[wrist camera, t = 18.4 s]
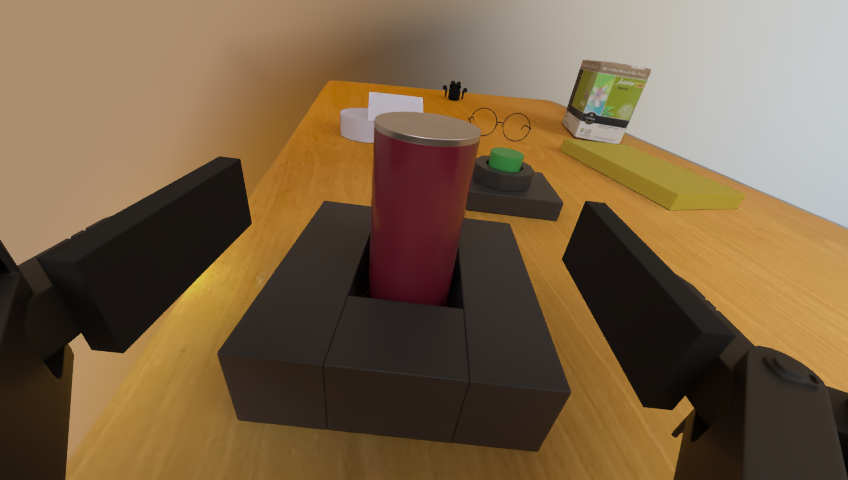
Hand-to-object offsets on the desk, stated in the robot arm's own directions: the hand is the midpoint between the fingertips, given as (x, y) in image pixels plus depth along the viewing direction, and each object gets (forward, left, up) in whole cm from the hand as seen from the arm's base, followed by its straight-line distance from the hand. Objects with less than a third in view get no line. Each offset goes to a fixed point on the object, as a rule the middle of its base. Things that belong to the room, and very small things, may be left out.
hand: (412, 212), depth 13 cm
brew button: (+9, +25, -6) cm, 27 cm away
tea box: (+37, +69, -10) cm, 79 cm away
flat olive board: (+34, +41, -10) cm, 54 cm away
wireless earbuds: (+6, +93, -10) cm, 94 cm away
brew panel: (+9, +25, -9) cm, 28 cm away
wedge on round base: (-8, +45, -10) cm, 47 cm away
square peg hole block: (0, +3, -9) cm, 10 cm away
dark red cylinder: (0, +3, -10) cm, 10 cm away
